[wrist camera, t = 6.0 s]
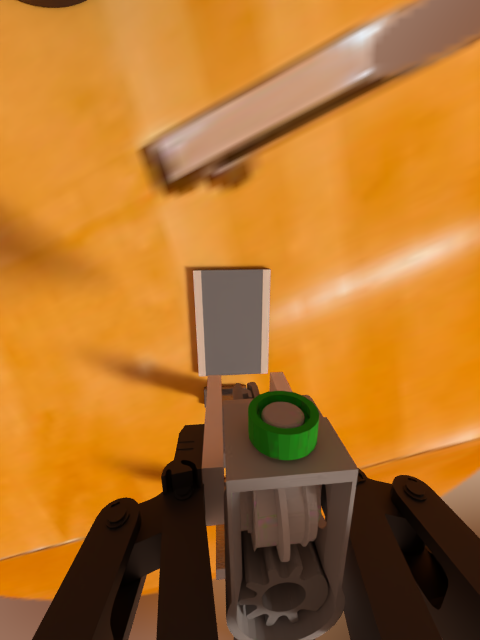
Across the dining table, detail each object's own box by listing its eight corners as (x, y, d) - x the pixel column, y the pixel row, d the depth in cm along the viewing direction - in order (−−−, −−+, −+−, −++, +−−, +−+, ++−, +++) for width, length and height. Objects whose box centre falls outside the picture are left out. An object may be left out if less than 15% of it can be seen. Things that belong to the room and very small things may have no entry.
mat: (193, 269, 27) (193, 270, 27) (269, 268, 28) (270, 269, 27) (199, 373, 31) (198, 376, 30) (266, 370, 31) (267, 373, 31)
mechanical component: (224, 460, 17) (232, 728, 8) (217, 310, 14) (216, 449, 5) (268, 456, 18) (329, 712, 8) (270, 308, 15) (371, 437, 5)
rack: (204, 387, 31) (198, 450, 22) (245, 385, 32) (258, 446, 22) (209, 493, 36) (206, 583, 26) (245, 490, 36) (255, 578, 27)
